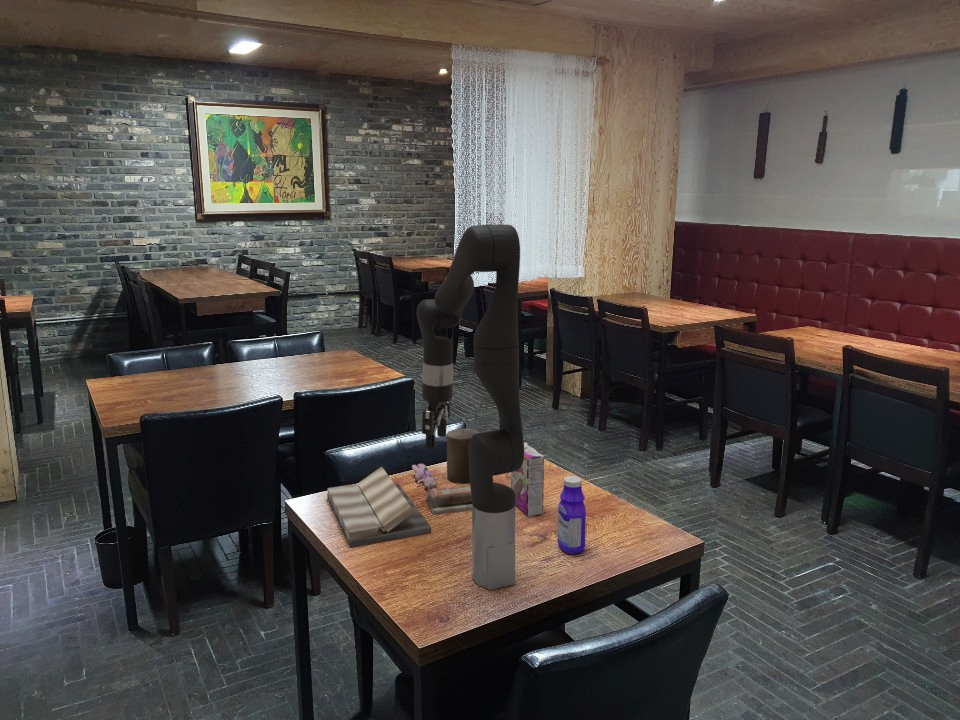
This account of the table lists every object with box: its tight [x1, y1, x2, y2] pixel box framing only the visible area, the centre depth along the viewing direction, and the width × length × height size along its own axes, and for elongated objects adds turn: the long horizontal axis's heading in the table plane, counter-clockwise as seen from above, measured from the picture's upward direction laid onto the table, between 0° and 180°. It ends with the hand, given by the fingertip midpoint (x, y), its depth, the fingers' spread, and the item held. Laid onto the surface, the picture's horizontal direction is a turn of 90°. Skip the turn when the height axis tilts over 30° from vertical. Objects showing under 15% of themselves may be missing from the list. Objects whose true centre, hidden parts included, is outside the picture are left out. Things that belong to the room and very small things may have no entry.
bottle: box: [557, 475, 587, 555], centre depth 162 cm, size 7×6×17 cm
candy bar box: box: [510, 441, 545, 518], centre depth 184 cm, size 11×5×16 cm, turn 22°
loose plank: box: [357, 466, 414, 532], centre depth 181 cm, size 28×9×2 cm
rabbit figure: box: [411, 463, 439, 493], centre depth 202 cm, size 6×6×15 cm
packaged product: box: [425, 484, 472, 515], centre depth 188 cm, size 18×5×10 cm
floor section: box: [326, 482, 432, 549], centre depth 181 cm, size 30×20×4 cm, turn 22°
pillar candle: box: [446, 428, 480, 484], centre depth 204 cm, size 10×10×15 cm
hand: (436, 442), depth 173 cm, fingers open, 8 cm apart
